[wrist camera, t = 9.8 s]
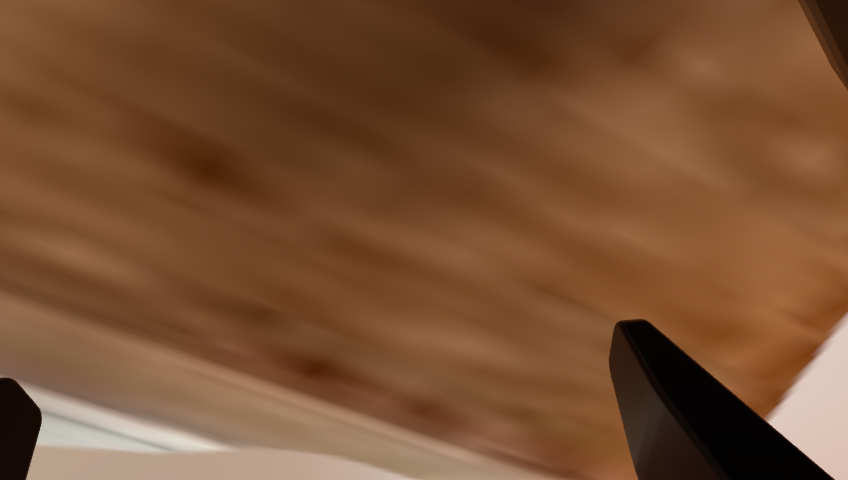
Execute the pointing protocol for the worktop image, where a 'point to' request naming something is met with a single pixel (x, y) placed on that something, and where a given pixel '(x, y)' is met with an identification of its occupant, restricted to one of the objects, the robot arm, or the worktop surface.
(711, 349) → the worktop surface
